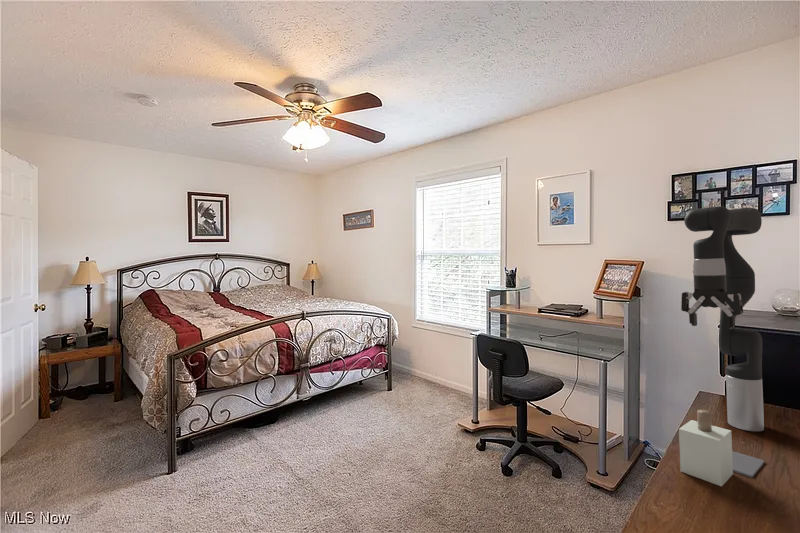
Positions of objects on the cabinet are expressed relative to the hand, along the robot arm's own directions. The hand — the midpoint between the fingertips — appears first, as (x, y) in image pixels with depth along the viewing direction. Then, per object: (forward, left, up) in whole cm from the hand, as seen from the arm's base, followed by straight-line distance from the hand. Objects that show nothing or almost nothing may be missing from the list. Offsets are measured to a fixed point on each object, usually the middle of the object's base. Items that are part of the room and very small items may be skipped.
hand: (711, 327), depth 112 cm
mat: (+3, +4, -38) cm, 38 cm away
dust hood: (+15, +2, -38) cm, 41 cm away
